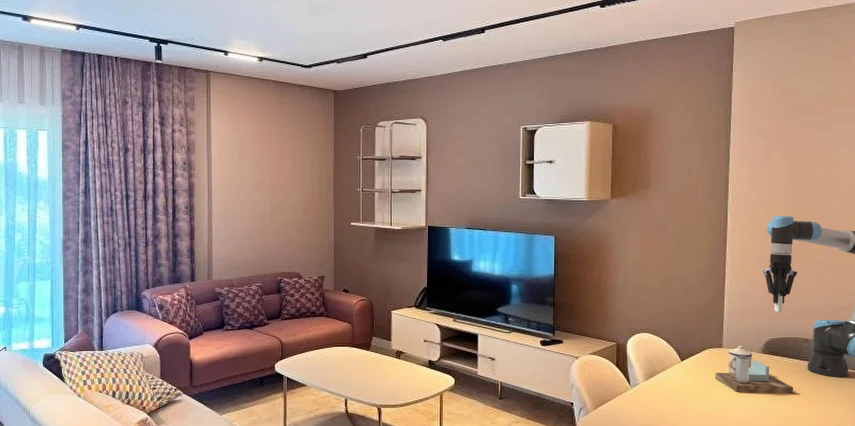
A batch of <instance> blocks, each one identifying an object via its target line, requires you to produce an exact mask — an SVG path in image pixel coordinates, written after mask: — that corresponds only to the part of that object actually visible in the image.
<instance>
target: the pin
mask: <svg viewBox="0 0 855 426" xmlns="http://www.w3.org/2000/svg"><path fill="white" fill-rule="evenodd" d="M748 365H749V359H748V358H747V357H745V356H738V357H736V377H735V382H737V383H739V384H748Z"/></svg>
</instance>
